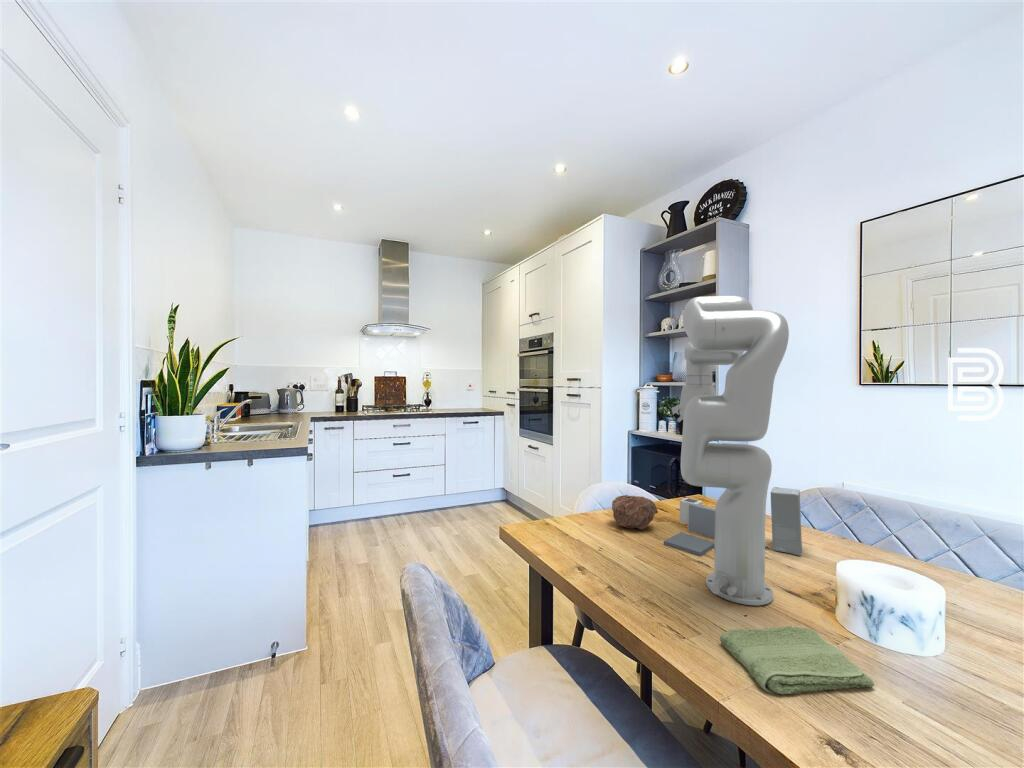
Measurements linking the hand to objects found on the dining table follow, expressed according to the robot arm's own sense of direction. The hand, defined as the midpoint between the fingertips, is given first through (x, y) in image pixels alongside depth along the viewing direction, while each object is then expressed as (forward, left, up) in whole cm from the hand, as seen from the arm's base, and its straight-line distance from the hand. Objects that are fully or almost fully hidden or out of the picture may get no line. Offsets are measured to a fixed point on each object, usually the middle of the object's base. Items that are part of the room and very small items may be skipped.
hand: (697, 436), depth 128 cm
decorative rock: (-17, +12, -28) cm, 35 cm away
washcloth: (-52, -38, -29) cm, 70 cm away
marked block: (+1, +2, -28) cm, 28 cm away
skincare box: (+1, -24, -28) cm, 37 cm away
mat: (-17, -6, -28) cm, 33 cm away
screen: (-6, -7, -28) cm, 29 cm away
